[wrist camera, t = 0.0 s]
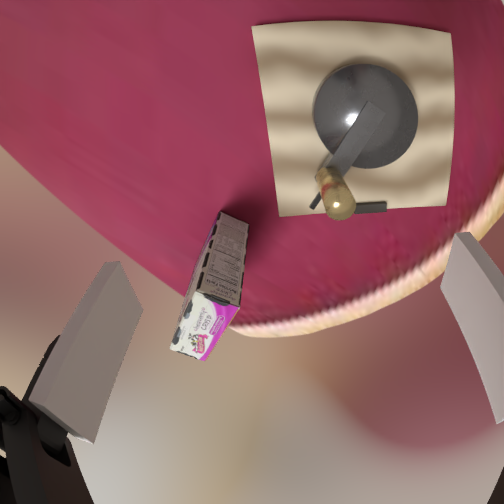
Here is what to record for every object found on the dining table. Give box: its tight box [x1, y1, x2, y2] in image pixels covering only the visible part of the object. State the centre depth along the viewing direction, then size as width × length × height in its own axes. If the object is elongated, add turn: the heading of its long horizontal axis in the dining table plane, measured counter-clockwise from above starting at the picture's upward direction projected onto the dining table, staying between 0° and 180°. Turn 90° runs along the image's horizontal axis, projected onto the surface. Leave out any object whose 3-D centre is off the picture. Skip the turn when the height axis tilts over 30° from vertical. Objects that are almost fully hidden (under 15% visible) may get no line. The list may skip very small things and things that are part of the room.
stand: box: [251, 21, 454, 217], centre depth 31 cm, size 24×24×3 cm
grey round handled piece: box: [309, 64, 418, 220], centre depth 28 cm, size 18×12×9 cm, turn 154°
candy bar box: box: [170, 212, 249, 361], centre depth 38 cm, size 11×5×16 cm, turn 155°
